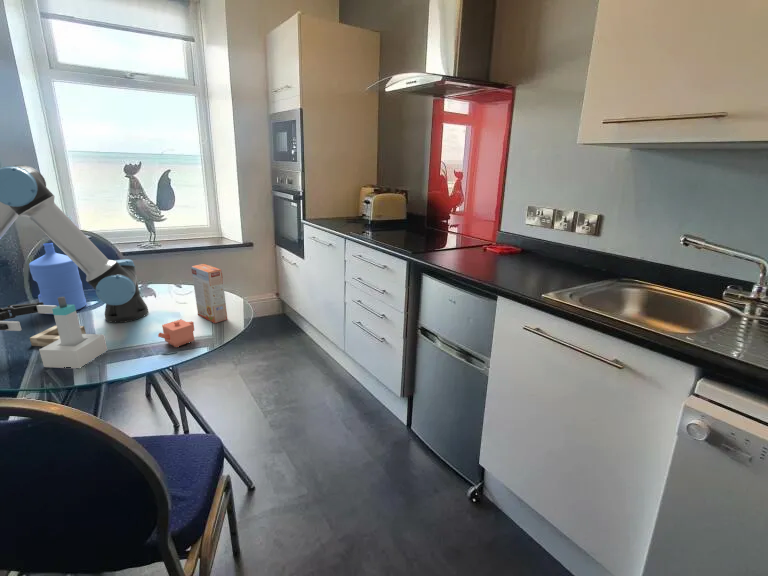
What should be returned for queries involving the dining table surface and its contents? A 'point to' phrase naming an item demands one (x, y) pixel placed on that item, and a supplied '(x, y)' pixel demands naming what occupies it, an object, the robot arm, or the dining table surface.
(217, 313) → the cracker box
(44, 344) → the beige flat square frame
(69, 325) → the plug
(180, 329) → the pink cube teapot
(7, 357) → the dining table surface
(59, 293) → the water jug
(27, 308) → the robot arm
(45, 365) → the socket block
